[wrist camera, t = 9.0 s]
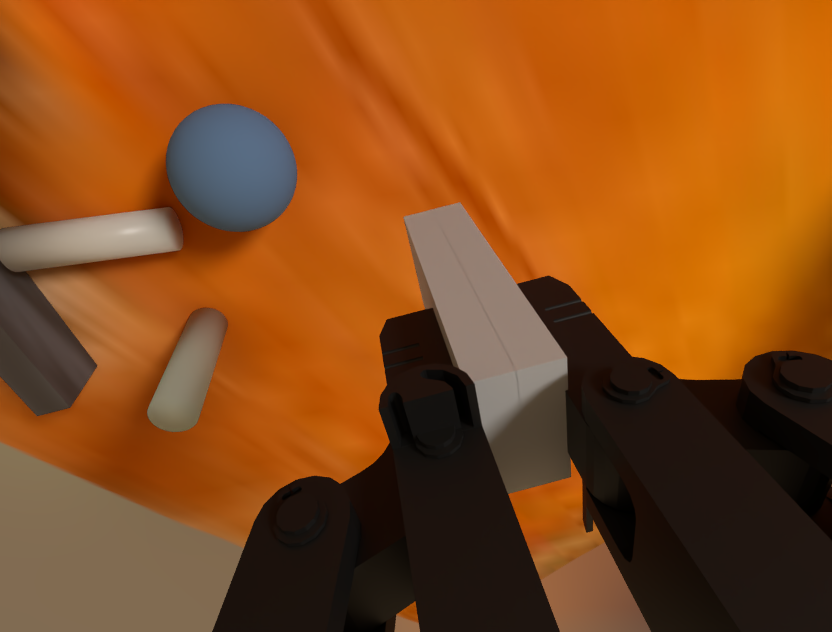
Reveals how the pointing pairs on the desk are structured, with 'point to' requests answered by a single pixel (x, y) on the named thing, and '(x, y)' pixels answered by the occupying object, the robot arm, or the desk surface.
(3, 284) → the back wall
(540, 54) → the desk surface
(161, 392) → the sage pin
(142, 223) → the ivory pin
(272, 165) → the ball
